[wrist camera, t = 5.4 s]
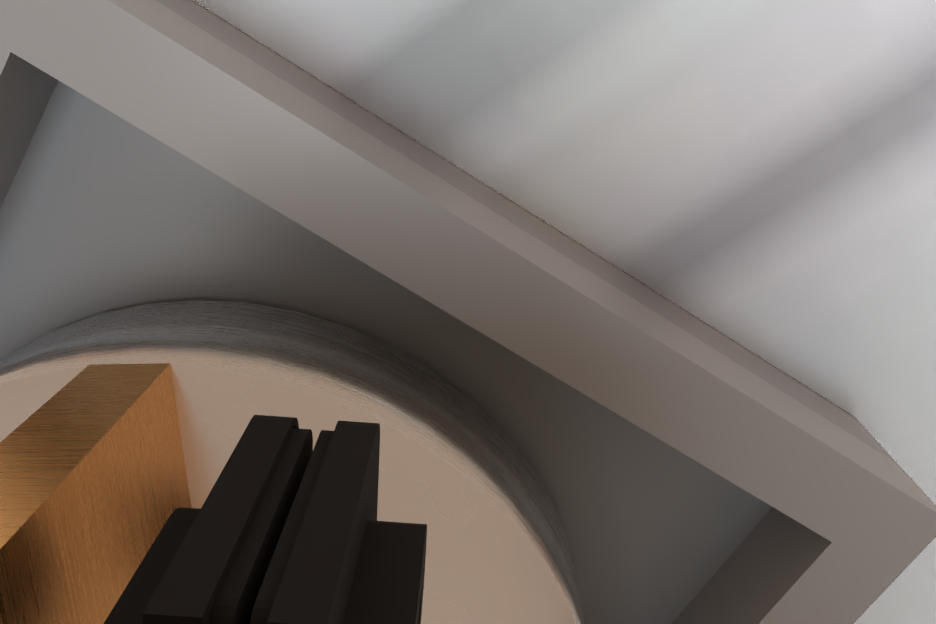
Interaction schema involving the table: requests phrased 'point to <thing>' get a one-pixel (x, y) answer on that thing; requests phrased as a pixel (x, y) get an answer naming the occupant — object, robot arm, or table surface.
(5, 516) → the dial
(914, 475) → the table surface
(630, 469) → the tray
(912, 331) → the table surface
